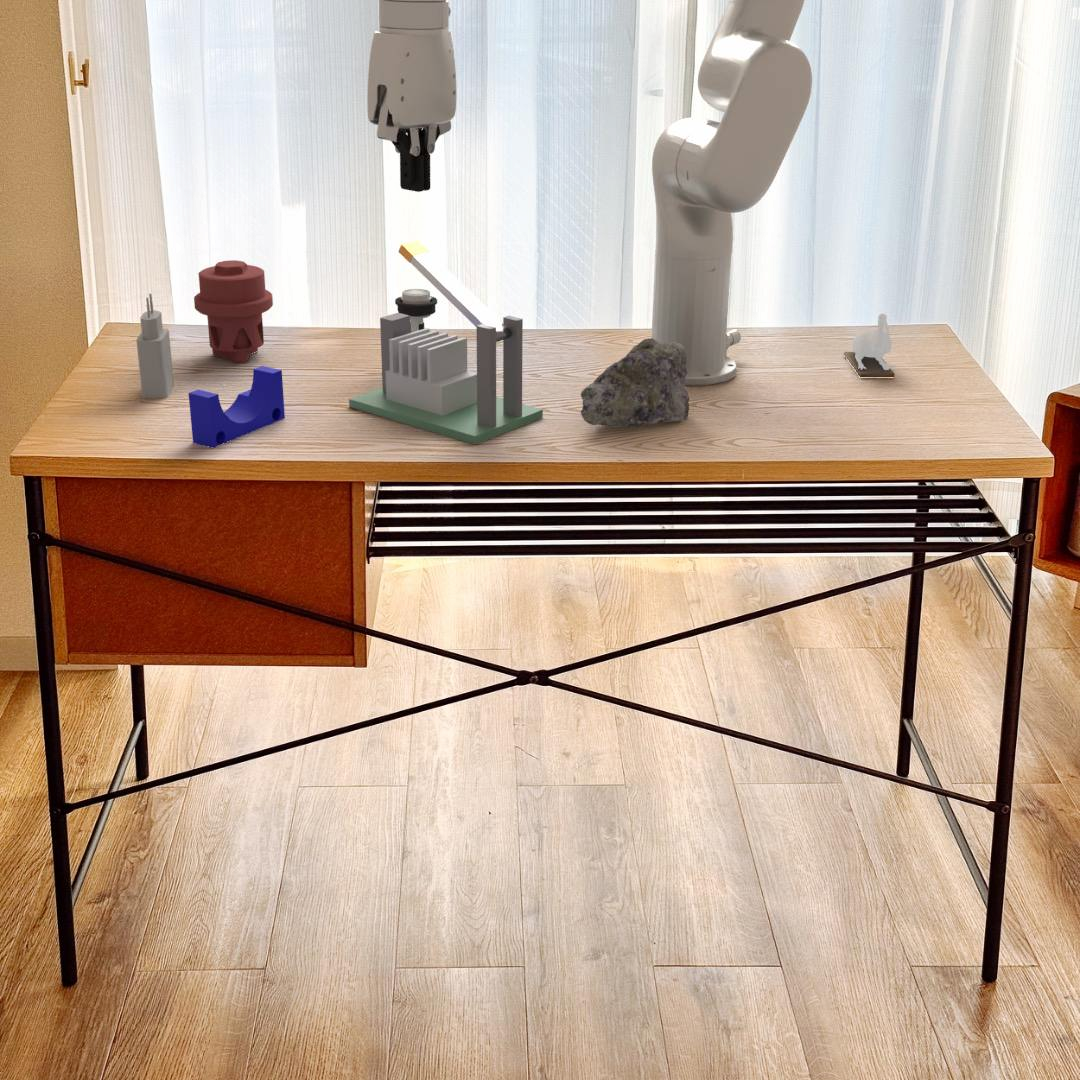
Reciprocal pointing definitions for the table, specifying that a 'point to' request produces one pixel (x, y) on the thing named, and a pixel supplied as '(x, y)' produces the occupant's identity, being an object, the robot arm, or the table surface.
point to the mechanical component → (233, 308)
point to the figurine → (871, 351)
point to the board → (449, 382)
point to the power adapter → (154, 355)
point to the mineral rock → (640, 388)
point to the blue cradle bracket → (237, 409)
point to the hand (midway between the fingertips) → (415, 189)
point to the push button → (416, 306)
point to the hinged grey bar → (452, 288)
